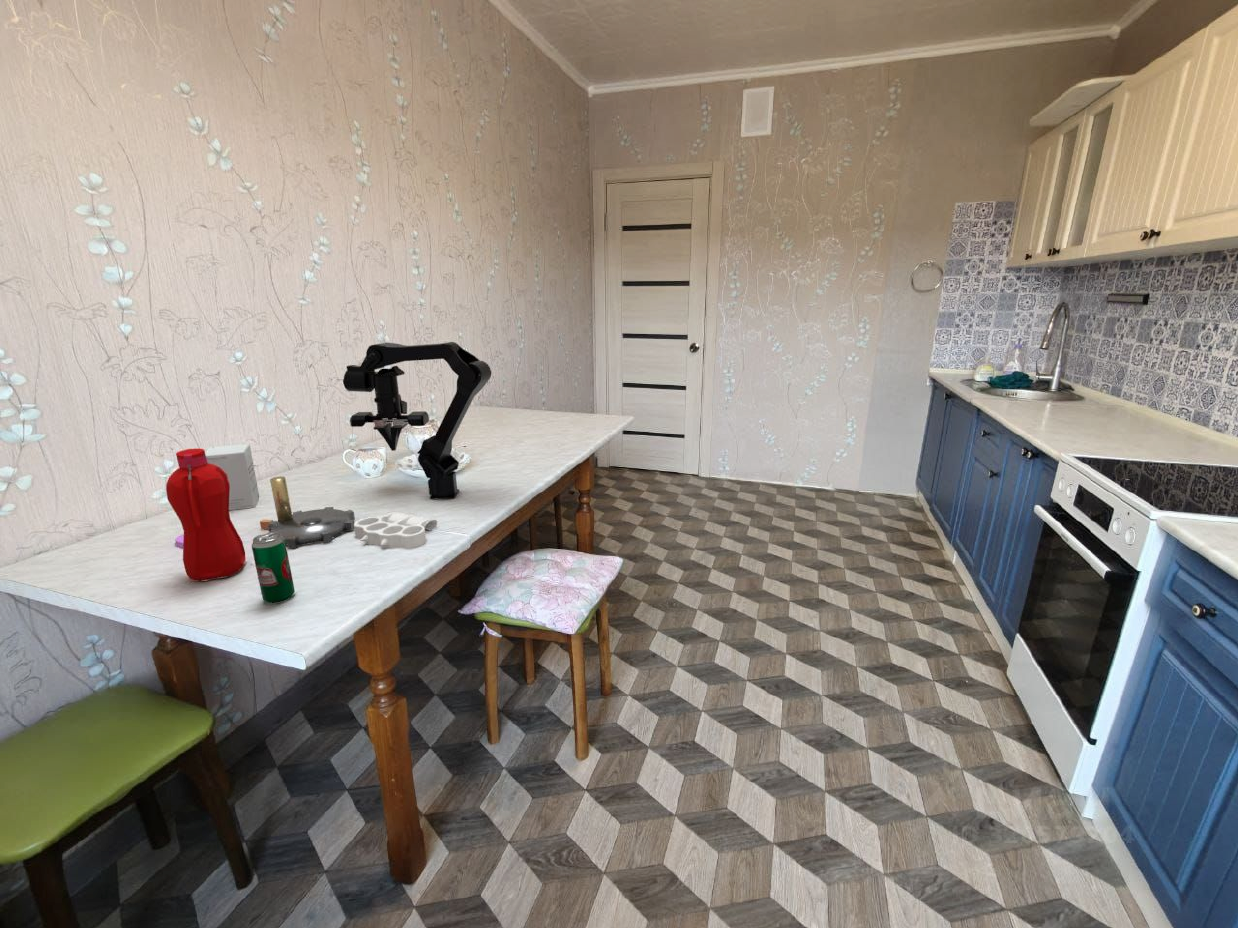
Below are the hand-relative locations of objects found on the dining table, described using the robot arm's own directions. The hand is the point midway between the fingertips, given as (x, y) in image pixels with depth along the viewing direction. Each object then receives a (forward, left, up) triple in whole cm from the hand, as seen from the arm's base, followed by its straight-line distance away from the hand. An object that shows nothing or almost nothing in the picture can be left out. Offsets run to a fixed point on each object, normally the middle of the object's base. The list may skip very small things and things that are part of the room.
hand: (393, 450), depth 152 cm
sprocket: (+12, +25, -12) cm, 30 cm away
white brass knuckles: (-8, +29, -13) cm, 32 cm away
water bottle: (+21, +45, -12) cm, 51 cm away
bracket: (+32, +31, -12) cm, 47 cm away
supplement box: (+39, +7, -12) cm, 41 cm away
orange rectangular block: (+23, +23, -12) cm, 35 cm away
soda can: (+4, +55, -12) cm, 56 cm away
